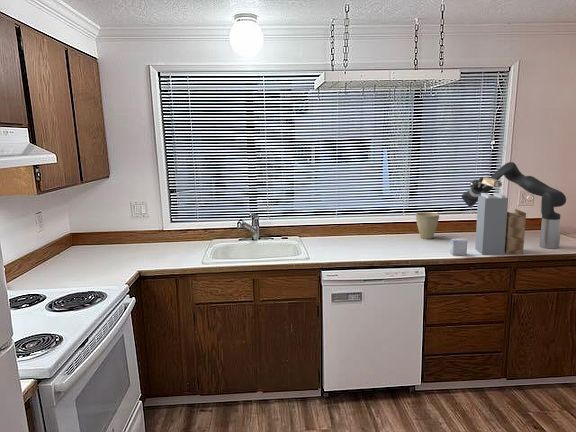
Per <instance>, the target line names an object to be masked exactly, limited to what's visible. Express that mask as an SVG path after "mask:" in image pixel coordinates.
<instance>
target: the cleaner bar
mask: <svg viewBox="0 0 576 432" xmlns="http://www.w3.org/2000/svg"><path fill="white" fill-rule="evenodd" d="M482 177H483V181H482V182H481V183H482V184H486V185H489V186H493V188H500V187H502V185H503V182H502V181H501V180H500V179H499V180H496V179H491V178H488V176H487V177H485V176H482Z"/></svg>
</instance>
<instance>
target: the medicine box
mask: <svg viewBox="0 0 576 432" xmlns="http://www.w3.org/2000/svg"><path fill="white" fill-rule="evenodd" d="M449 248H450V250H449V253H450V255H452V256H467V254H468V252H467V251H468V239H466V238H451V239H450V247H449Z"/></svg>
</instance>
